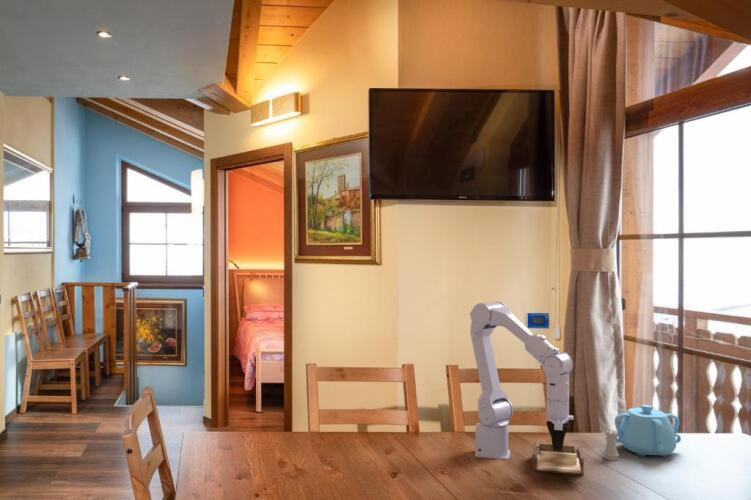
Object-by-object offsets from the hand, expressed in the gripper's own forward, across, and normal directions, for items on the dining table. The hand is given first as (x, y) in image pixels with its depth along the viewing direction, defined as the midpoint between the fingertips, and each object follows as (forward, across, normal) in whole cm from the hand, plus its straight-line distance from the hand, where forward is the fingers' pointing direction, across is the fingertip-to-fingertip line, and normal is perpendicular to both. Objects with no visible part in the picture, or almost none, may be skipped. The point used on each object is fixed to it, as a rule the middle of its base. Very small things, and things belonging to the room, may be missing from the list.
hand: (557, 449), depth 165 cm
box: (+6, +4, 0) cm, 8 cm away
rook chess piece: (+6, +16, -15) cm, 23 cm away
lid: (+2, -5, 0) cm, 5 cm away
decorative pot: (+6, +26, -26) cm, 37 cm away
